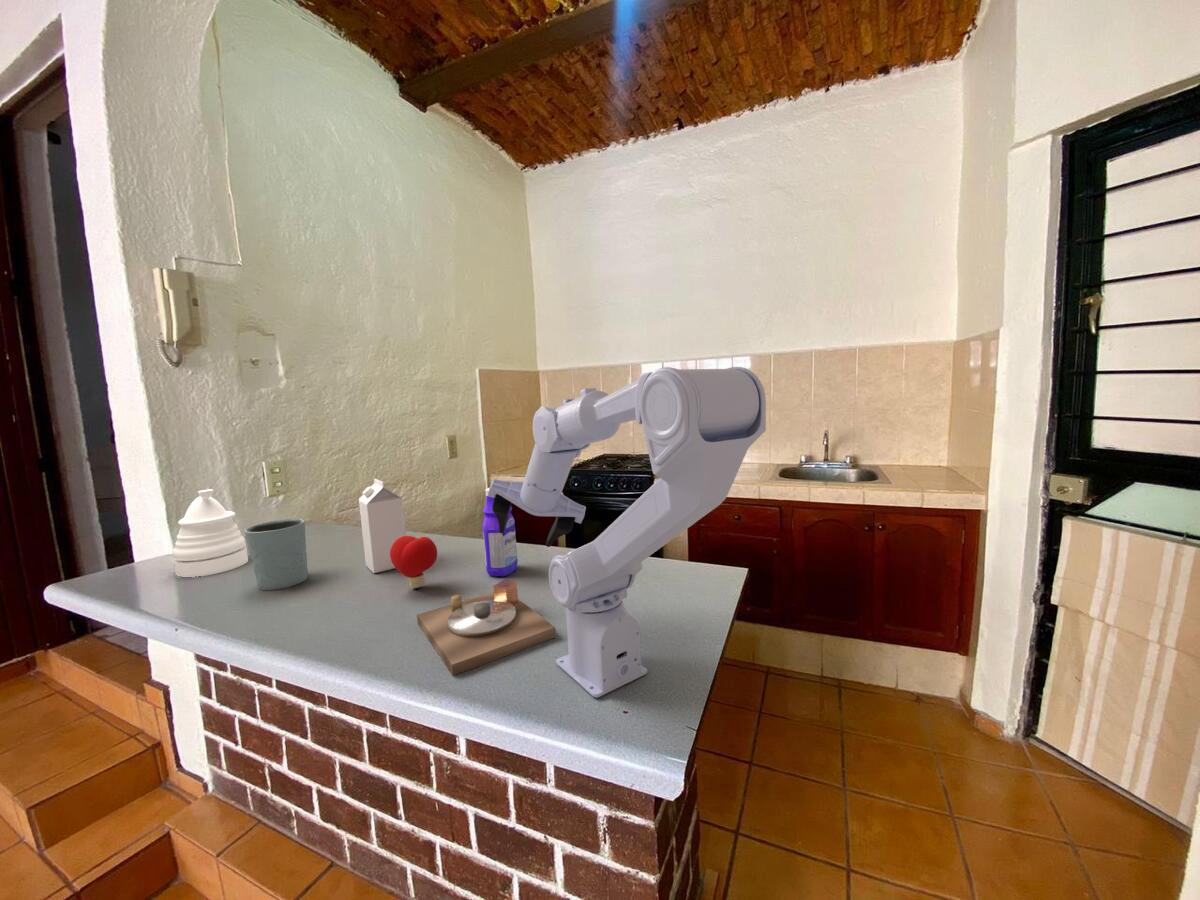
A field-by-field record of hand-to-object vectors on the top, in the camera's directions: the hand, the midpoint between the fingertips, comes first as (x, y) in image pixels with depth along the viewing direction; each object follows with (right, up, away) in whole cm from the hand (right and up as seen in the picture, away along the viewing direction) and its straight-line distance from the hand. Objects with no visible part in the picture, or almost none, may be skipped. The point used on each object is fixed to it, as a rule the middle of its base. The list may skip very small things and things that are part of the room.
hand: (525, 535), depth 75 cm
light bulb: (-23, -13, +13) cm, 29 cm away
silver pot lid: (-5, -12, -3) cm, 13 cm away
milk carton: (-35, -12, +27) cm, 46 cm away
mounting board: (-6, -14, -4) cm, 15 cm away
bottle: (-8, -11, +20) cm, 24 cm away
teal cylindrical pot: (-53, -13, +21) cm, 58 cm away
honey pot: (-77, -13, +32) cm, 84 cm away
